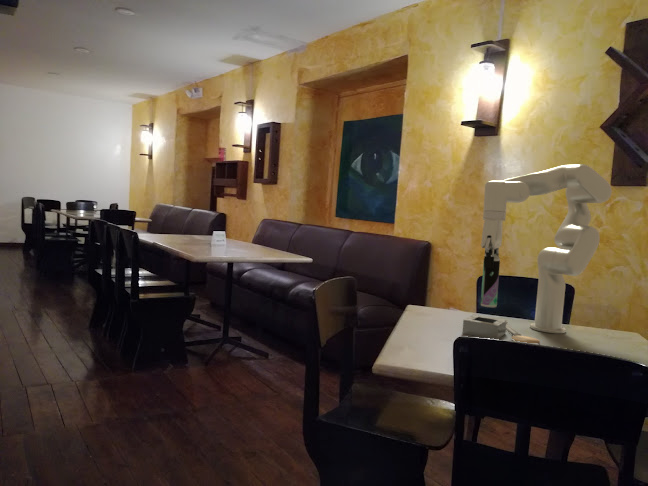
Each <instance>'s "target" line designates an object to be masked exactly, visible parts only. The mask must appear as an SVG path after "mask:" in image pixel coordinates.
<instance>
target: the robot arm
mask: <svg viewBox="0 0 648 486" xmlns="http://www.w3.org/2000/svg"><path fill="white" fill-rule="evenodd" d="M563 189H565V198H566V201H567V205H568V207H567V208H568V210H567V214H566V215H565V218H564V219H563V221H562V223H561V224H560V226H559V228H558V229H557V231H556V232H555V234H554V240H553V241H554V244H555V245H556V246H557V247H556V246H555V247H554V246H553V247H552V246H550V247H545V248H543V249H542V250H540V251H539V253H538V255H537V269H538V281H537V282H538V283H537V292H536V293H537V294H536V304H535V316H534V322H532V323H529V328H531V329H532V330H535V331H538V332H543V333H549V334H564V333H566V331H567V329H566V328H565V327H564V326H562V324H563V315H564V306H565V297H566V294H565V292H566V281H565V278H564V275H566V276H570V277H572V276H573V277H577V276H580V275H581V274H582V273H583V272H584V271H585V270H586V268H587V267H588V266H589V263H590V262H591V260H592V258H593V256H594V255H595V253H596V252H597V249H598V247H599V245H600V240H601V236H600V232H599V230H597V229H596V227H593V226H590V223H591V220H592V216H591V215H592V214H591V211H590V209H589V206H588V204H602V203H605V202H607V201H609V200H610V198H611V197H612V193H613V191H612V186H611V184H610V182H608V180H606V179H605V178H604V177H603V176H602V175H601V174H599V173H598V172H597V171H596V170H595V169H593V167H590V166H589V165H587V164H584V163H583V164H582V163H581V164H564V165H558V166H555V167H552V168H549V169H546V170H545V169H544V170H542V171H538V172H532V173H528V174H525V175H520V176H516V177H515V176H514V177H510V178H506V179H504V180H503V179H502V180H490V181H489V180H488V181H486V182H485V185H484V196H483V197H484V199H483V212H482V213H483V214H482V220H483V227H482V233H481V234H482V235H481V236H482V237H481V244H480V246H481V248H482V249H484V256H485V257H484V256H483V263H484V268H491V269H492V268H494V257H493V255H494V250H495V254H496V255H497V256H498V257H500V256H499V254H500V250H499V249H500V247H502V243H503V222H505V221H506V215H507V203H509V204H511V203H512V204H515V203H516V204H518V203H519V204H520V203H523V202H525V201H527V200H528V198H529V197H530V196H542V195H543V196H544V195H547V194H551V193H552V192H553V193H554V192H558V191H559V190H563ZM491 250H492V252H491Z"/></svg>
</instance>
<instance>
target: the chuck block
mask: <svg viewBox="0 0 648 486" xmlns="http://www.w3.org/2000/svg"><path fill="white" fill-rule="evenodd" d="M502 319H503V318H495V317H491V316H484V315H480V314H479V315H477V314H472V315H470V316H468V317H466V318H464V319H463V324H462V333H464V334H463V335H467V334H468V335H467V336H472V335H476V336H475V337H479V338H483V337H485V338H484V339H488V338H494V339H498V338H499V337H500V338H502V337H503V336H504V335H506V333H507V331H506V321H508V320H506V319H504V320H502ZM502 335H503V336H502ZM501 336H502V337H501ZM500 338H499V339H500ZM494 339H493V340H494ZM499 339H498V340H499Z"/></svg>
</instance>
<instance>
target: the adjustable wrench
mask: <svg viewBox="0 0 648 486" xmlns="http://www.w3.org/2000/svg"><path fill="white" fill-rule="evenodd" d="M501 319H502V320H505V319H503V318H501ZM506 330H507V331H508V332H510V333H511V334H512V335H514V336H523V335H522V333H520V332H519V331H518V330H516V329H514V328H513V327H512V326H510V325H508V320H507V321H506ZM507 331H506V332H507ZM508 332H507V333H508ZM510 333H509V334H510ZM511 334H510V335H511ZM512 335H511V336H512Z"/></svg>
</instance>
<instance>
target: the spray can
mask: <svg viewBox="0 0 648 486" xmlns="http://www.w3.org/2000/svg"><path fill="white" fill-rule="evenodd" d="M491 252H492V250H491ZM498 256H499V255H498ZM498 256H497V255H496V254H495V250H494V255H493V257H494V268H492V269H491V268H484V262H483V263H482V264H483V267H482V279H481V280H482V281H481V295H480V306H481V307H485V308H497V305H498V294H499V291H498V290H499V278H500V267H501V266H500V265H501V264H500V263H501V259H500V256H499V257H498ZM484 257H485V255H484V256H483V258H484Z"/></svg>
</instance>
